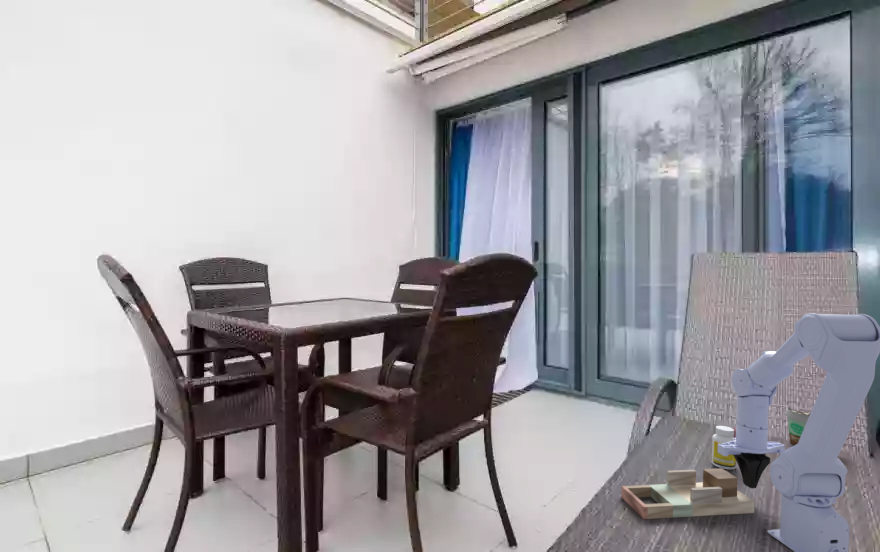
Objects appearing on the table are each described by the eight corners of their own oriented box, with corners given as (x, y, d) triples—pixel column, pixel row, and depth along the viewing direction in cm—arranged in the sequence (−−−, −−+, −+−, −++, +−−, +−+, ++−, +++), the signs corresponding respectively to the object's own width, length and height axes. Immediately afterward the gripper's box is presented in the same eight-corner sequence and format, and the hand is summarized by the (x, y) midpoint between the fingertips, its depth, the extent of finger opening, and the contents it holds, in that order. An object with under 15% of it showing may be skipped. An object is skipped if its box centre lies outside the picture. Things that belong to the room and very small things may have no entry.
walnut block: (737, 496, 95) (737, 478, 95) (717, 497, 94) (718, 478, 94) (721, 486, 100) (721, 468, 99) (702, 487, 99) (703, 469, 99)
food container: (774, 441, 133) (775, 407, 133) (786, 438, 136) (787, 405, 135) (824, 457, 122) (825, 421, 122) (836, 453, 124) (837, 418, 124)
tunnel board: (754, 512, 93) (754, 486, 93) (643, 519, 90) (644, 492, 90) (723, 492, 102) (724, 468, 102) (621, 497, 99) (622, 472, 99)
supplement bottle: (739, 471, 113) (741, 432, 112) (716, 469, 114) (717, 431, 113) (730, 462, 118) (731, 425, 118) (707, 460, 119) (709, 423, 119)
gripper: (766, 417, 102) (764, 476, 103) (708, 419, 101) (706, 478, 101) (794, 428, 95) (792, 491, 96) (732, 430, 94) (730, 494, 94)
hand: (749, 486), depth 98 cm, fingers closed
